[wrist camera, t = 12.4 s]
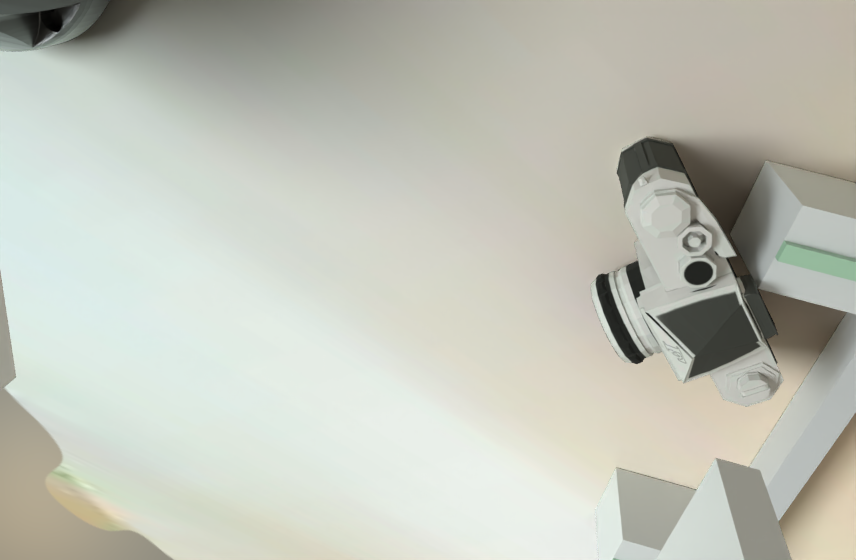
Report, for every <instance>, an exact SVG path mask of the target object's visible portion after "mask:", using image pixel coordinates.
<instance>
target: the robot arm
mask: <svg viewBox="0 0 856 560" xmlns="http://www.w3.org/2000/svg"><path fill="white" fill-rule="evenodd" d="M108 2H109V0H0V51H11V52H16V51H31V50H37V49H41V48H45V47H49V46H53V45H56V44H60V43H63V42H66V41H69V40H71V39H73V38H75V37H77V36H79V35H80V34H82V33H83V32H85V31H86V30H87V29H88V28H90V27H91V26H92V25H93V24H94V23H95V22H96V20H97V19H98V18H99V17H100V15H101V14H102V13H103V11H104V9H105V8H106V6H107V4H108ZM14 378H16V373H15V367H14V360H13V353H12V347H11V340H10V333H9V326H8V320H7V313H6V306H5V299H4V293H3V286H2V279H1V272H0V390H2V389H3V388H4V387H5V386H6V385H7V384H9V383H10V382H11V381H12V380H13V379H14ZM656 560H792V559H791V556H790V553H789V550H788V548H787V545H786V542H785V539H784V536H783V533H782V531H781V528H780V525H779V522H778V519H777V516H776V514H775V511H774V508H773V505H772V502H771V499H770V497H769V494H768V491H767V488H766V485H765V482H764V480H763V477H762V474H761V471H760V470H758V469H754V468H750V467H747V466H743V465H739V464H736V463H732V462H729V461H725V460H721V459H718V458H715V460H714V462H713V463H712V465H711V467H710V469H709V470H708V472H707V474H706V475H705V477H704V479H703V480H702V482H701V484H700V485H699V487H698V489H697V491H696V492H695V494H694V496H693V497H692V499H691V501H690V502H689V504H688V506H687V507H686V509H685V511H684V513H683V514H682V516H681V518H680V519H679V521H678V523H677V524H676V526H675V528H674V529H673V531H672V533H671V535H670V536H669V538H668V540H667V541H666V543H665V545H664V546H663V548H662V550H661V551H660V553H659V555H658V557H657V558H656Z"/></svg>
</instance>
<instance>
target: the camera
mask: <svg viewBox="0 0 856 560" xmlns="http://www.w3.org/2000/svg"><path fill="white" fill-rule="evenodd" d="M617 174H618V176H619V180H620V183H621V188H622V193H623V197H624V208H625V213H626V216H627V218H628V220H629V222H630V224H631V226H632V228H633V230H634V232H635V233H636V235H637V237H638V239H639V240H638V241H636V242H634V244H635V249H636V253H637V258H638V261H636V262H634V263H632V264H629V265H627V266H625V267H622V268H621V269H620V270H619V271H618V272H615V271H613V272H611V273H608V274H600V275H598V276H597V278H596V279H595V280H594V281H593V283H592V284H591V294H592V299H593V303H594V306H595V309H596V312H597V315H598V317H599V320H600V322H601V324H602V327H603V329H604V331H605V333H606V335H607V337H608V339H609V341H610V343H611V345H612V347H613V348H614V350H615V351H616V353H617V354H618V356H619V357H620V358H621V359H622V360H623V361H624V362H628V363H635V364H638V363H641V362H643V360H644V358H646V357H649V356H652V355H653V353H654V352H655V353H660V352H663V353H664V355H665V357H666V359H667V361H668V362H669V364H670V366H671V368H672V370H673V372H674V373H675V375H676V377H677V379H678V381H680V380H682V382H683V383H686V382H689V381H691V380H694V379H697V378H700V377H703V376H706V375H709V374H710V376H711V377H712V379H713V381H714V383H715V385H716V387H717V389H718V391H719V393H720V394H721V396H722V398H723V400H726V401H729V402H733V403H736V404H739V405H742V406H745V407H747V406H750V405H754V404H757V403H760V402H763V401H766V400H769V399H771V398H772V396H773V395H774V394H775V392H776V391H777V389H778V388H779V386H780V385H781V383H782V382H783V381H784V380H783V377H782V375H781V373H780V371H779V368H778V366H777V361H776V359H775V357H774V354H773V352H772V350H771V348H770V346H769V343H768V341H767V338H770V337H772V336H773V335H775V334H777V335H778V333H777V330H776V327H775V324H774V322H773V320H772V318H771V316H770V314H769V312H768V310H767V308H766V305H765V303H764V301H763V299H762V297H761V295H760V293H759V291H758V288H757V286H756V283H755V281H754V279H753V277H752V275H751V273H750V274H749V275H744V276H740V277H738V278H737V276H736V274H735V272H734V270H733V268H732V266H731V264H730V262H729V259H728V258H729V257H734V256H737V255H736V253H735V251H734V249H733V247H732V245H731V244H730V242H729V240H728V238H727V236H726V235H725V233H724V231H723V229H722V227H721V226H720V224H719V222H718V220H717V219H716V218H715V216H714V215H713V214H712V213H711V212H710V211H709V209H708V208H707V207H706V206H705V205H704V204H703V202H702V201H701V200H700V199H699V197H698V195H697V193H696V190H695V188H694V186H693V184H692V182H691V180H690V178H689V176H688V174H687V172H686V170H685V167H684V165H683V163H682V161H681V159H680V157H679V155H678V153H677V151H676V149H675V147H674V145H673V143H670V142H668V141H663V140H659V139H655V138H651V137H644V138H642V139H640V140H638V141H636V142H634V143H632V144H630V145H628V146H626V147H624V148H622V151H621V155H620V158H619V162H618V165H617Z"/></svg>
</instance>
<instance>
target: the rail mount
mask: <svg viewBox="0 0 856 560" xmlns="http://www.w3.org/2000/svg"><path fill="white" fill-rule="evenodd" d="M730 236H731V238H732V240H733V241H734V243H735V245H736V247H737V249H738V251H739V253H740V255H741V257H742V259H743V261H744V263H745V265H746V267H747V269H748V271H749V272H750V273H751V275H752V277H753V279H754V281H755V283H756V286H757V288H758V289H761V290H764V291H768V292H772V293H776V294H780V295H783V296H787V297H791V298H795V299H799V300H803V301H806V302H810V303H814V304H818V305H822V306H825V307H829V308H833V309H837V310H841V311H845V312H847V313H846V315H845V316H844V318H843V319H842V321H841V322H840V324H839V326H838V327H837V329H836V330H835V332H834V334H833V335H832V337H831V338H830V340H829V341H828V343H827V345H826V346H825V348H824V349H823V351H822V353H821V354H820V356H819V357H818V359H817V360H816V362H815V364H814V365H813V367H812V368H811V370H810V371H809V373H808V375H807V376H806V378H805V379H804V381H803V383H802V384H801V386H800V387H799V389H798V390H797V392H796V394H795V395H794V397H793V398H792V400H791V402H790V403H789V405H788V406H787V408H786V409H785V411H784V413H783V414H782V416H781V417H780V419H779V420H778V422H777V424H776V425H775V427H774V428H773V430H772V432H771V433H770V435H769V436H768V438H767V439H766V441H765V443H764V444H763V446H762V447H761V449H760V451H759V452H758V454H757V455H756V457H755V458H754V460H753V462H752V463H751V465H750V466H749V467H750V468H754V469H758V470H760V471H761V474H762V477H763V480H764V482H765V485H766V488H767V491H768V494H769V497H770V499H771V502H772V505H773V508H774V511H775V514H776V516H777V519H778V522H779V520H780V519H781V517H782V516H783V515H784V513H785V512H786V510H787V509H788V508H789V506H790V505H791V503H792V502H793V500H794V499H795V498H796V496H797V495H798V493H799V492H800V491H801V489H802V488H803V486H804V485H805V483H806V482H807V481H808V479H809V478H810V476H811V475H812V474H813V472H814V471H815V469H816V468H817V466H818V465H819V464H820V462H821V461H822V459H823V458H824V457H825V455H826V454H827V452H828V451H829V450H830V448H831V447H832V445H833V444H834V442H835V441H836V440H837V438H838V437H839V435H840V434H841V433H842V431H843V430H844V428H845V427H846V425H847V424H848V423H849V421H850V420H851V418H852V417H853V416H854V414H855V413H856V183H854V182H850V181H846V180H842V179H838V178H834V177H830V176H826V175H822V174H819V173H815V172H811V171H807V170H803V169H799V168H795V167H791V166H787V165H783V164H779V163H775V162H771V161H767V160H766V161H765V163H764V165H763V167H762V169H761V172H760V174H759V176H758V178H757V180H756V182H755V184H754V186H753V188H752V190H751V192H750V194H749V196H748V198H747V200H746V202H745V204H744V206H743V208H742V210H741V212H740V215H739V217H738V219H737V221H736V223H735V225H734V227H733V229H732V231H731V233H730ZM696 491H697V490H695V489H691V488H688V487H684V486H680V485H677V484H673V483H670V482H666V481H662V480H659V479H655V478H652V477H648V476H644V475H641V474H637V473H634V472H630V471H627V470H623V469H619V468H615V470H614V473H613V475H612V477H611V479H610V481H609V483H608V485H607V487H606V489H605V491H604V493H603V495H602V497H601V499H600V501H599V503H598V505H597V507H596V509H595V514H596V532H597V550H598V560H656V558H657V557H658V555H659V553H660V551H661V550H662V548H663V546H664V545H665V543H666V541H667V540H668V538H669V536H670V535H671V533H672V531H673V529H674V528H675V526H676V524H677V523H678V521H679V519H680V518H681V516H682V514H683V513H684V511H685V509H686V507H687V506H688V504H689V502H690V501H691V499H692V497H693V496H694V494H695V492H696Z"/></svg>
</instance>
